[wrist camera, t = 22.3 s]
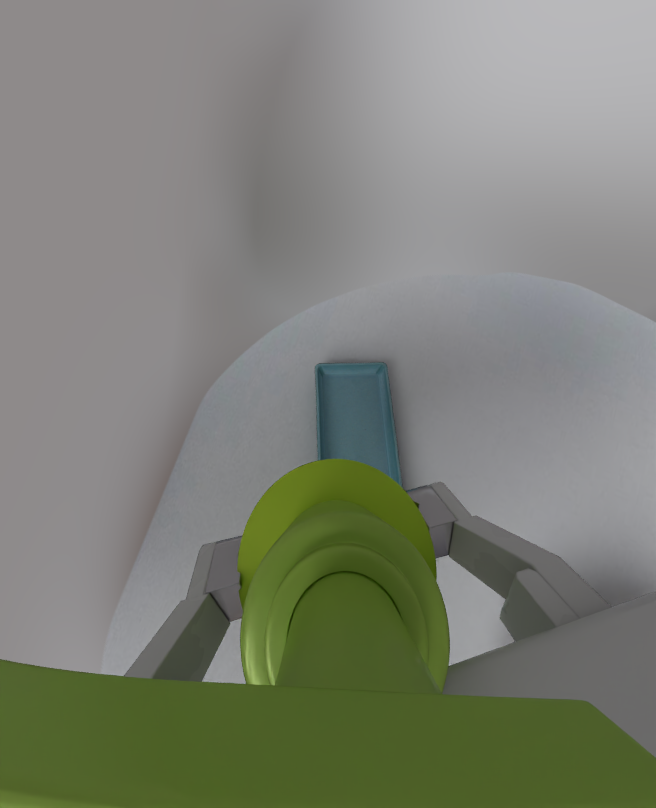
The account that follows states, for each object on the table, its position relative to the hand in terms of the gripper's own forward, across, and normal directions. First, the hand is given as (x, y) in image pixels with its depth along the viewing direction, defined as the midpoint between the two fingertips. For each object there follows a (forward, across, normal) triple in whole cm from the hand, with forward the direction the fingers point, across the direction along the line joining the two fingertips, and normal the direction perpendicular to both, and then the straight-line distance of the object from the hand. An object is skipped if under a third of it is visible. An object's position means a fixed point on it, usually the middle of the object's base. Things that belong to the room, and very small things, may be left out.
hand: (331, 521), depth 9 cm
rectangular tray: (+15, +4, -13) cm, 20 cm away
